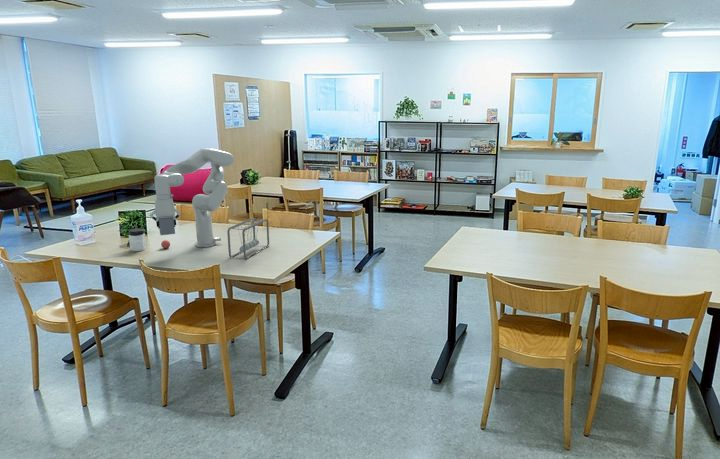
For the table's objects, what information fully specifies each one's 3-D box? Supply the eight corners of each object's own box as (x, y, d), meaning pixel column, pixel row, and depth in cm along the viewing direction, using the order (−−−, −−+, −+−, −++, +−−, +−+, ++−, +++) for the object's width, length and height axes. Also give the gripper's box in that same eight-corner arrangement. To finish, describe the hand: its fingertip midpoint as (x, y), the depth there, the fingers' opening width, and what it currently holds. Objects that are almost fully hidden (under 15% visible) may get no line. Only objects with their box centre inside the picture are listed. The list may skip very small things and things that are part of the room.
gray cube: (174, 230, 288) (172, 215, 286) (175, 233, 281) (173, 218, 279) (159, 232, 285) (158, 217, 283) (160, 235, 278) (158, 220, 276)
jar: (131, 252, 293) (129, 232, 290) (129, 248, 299) (126, 229, 296) (147, 249, 297) (145, 230, 294) (145, 246, 304) (143, 227, 301)
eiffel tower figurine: (133, 241, 316) (131, 221, 313) (146, 243, 313) (144, 222, 310) (115, 248, 302) (112, 226, 299) (128, 249, 299) (126, 228, 296)
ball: (170, 245, 304) (169, 238, 302) (170, 249, 300) (170, 241, 298) (161, 246, 302) (160, 239, 300) (161, 250, 298) (161, 242, 296)
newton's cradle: (245, 260, 278) (243, 229, 273) (228, 258, 281) (226, 228, 276) (269, 246, 306) (268, 218, 301) (254, 244, 308) (252, 216, 304)
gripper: (179, 194, 285) (182, 224, 289) (146, 196, 278) (149, 227, 282) (180, 196, 278) (183, 227, 283) (147, 199, 271) (150, 230, 276)
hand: (166, 227), depth 282 cm, fingers closed on gray cube, 7 cm apart
